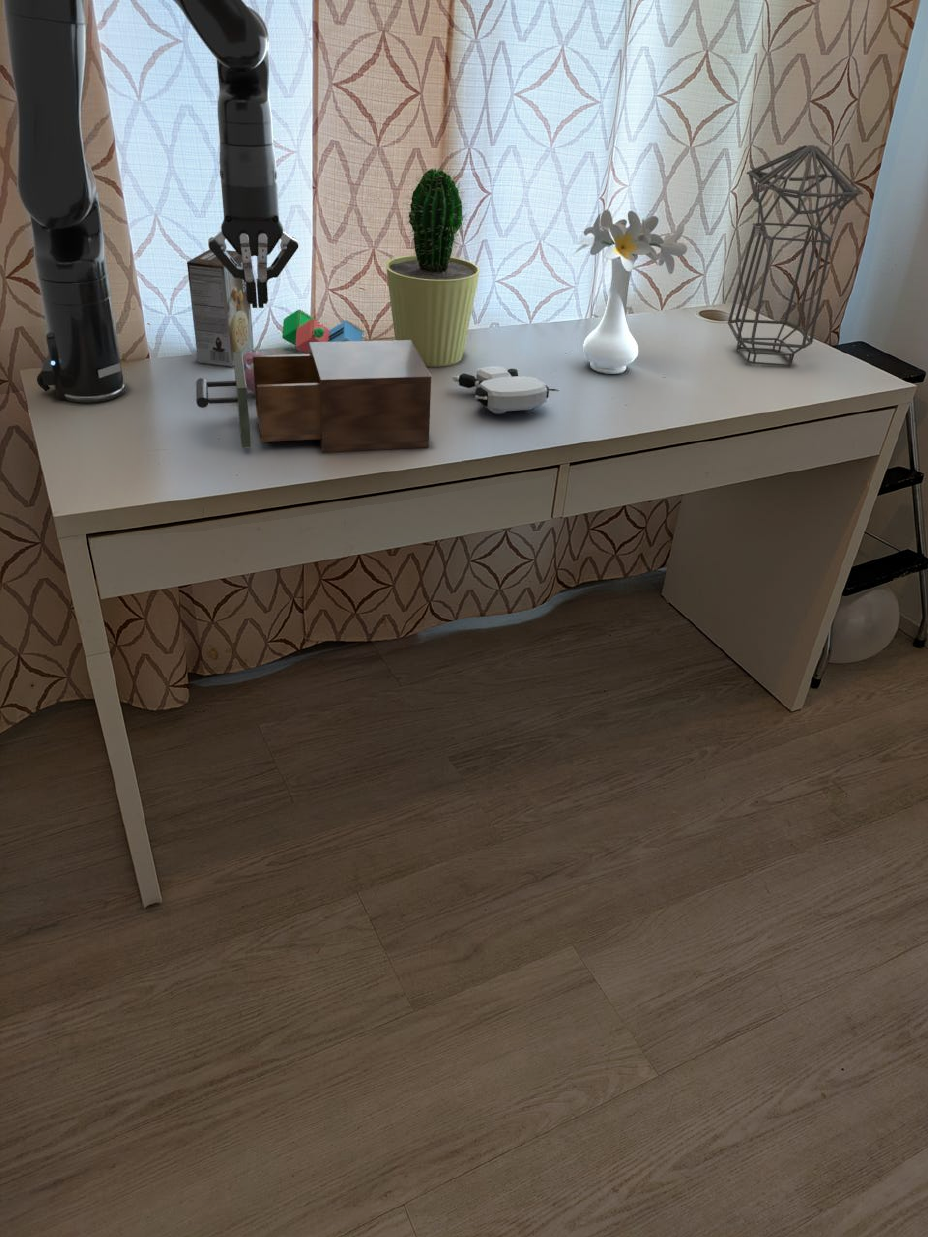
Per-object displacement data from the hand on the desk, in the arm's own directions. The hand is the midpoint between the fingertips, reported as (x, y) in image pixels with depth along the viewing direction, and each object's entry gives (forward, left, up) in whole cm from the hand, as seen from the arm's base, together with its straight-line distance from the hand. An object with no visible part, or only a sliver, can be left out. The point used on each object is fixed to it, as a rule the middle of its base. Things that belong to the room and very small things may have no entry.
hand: (257, 306), depth 142 cm
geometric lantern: (+89, +8, -13) cm, 90 cm away
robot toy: (+36, -8, -13) cm, 39 cm away
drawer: (0, -15, -12) cm, 20 cm away
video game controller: (0, 0, -13) cm, 13 cm away
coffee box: (-5, +16, -13) cm, 21 cm away
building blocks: (+11, +16, -13) cm, 24 cm away
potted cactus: (+29, +14, -13) cm, 35 cm away
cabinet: (+14, -15, -13) cm, 25 cm away
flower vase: (+59, +6, -13) cm, 61 cm away
